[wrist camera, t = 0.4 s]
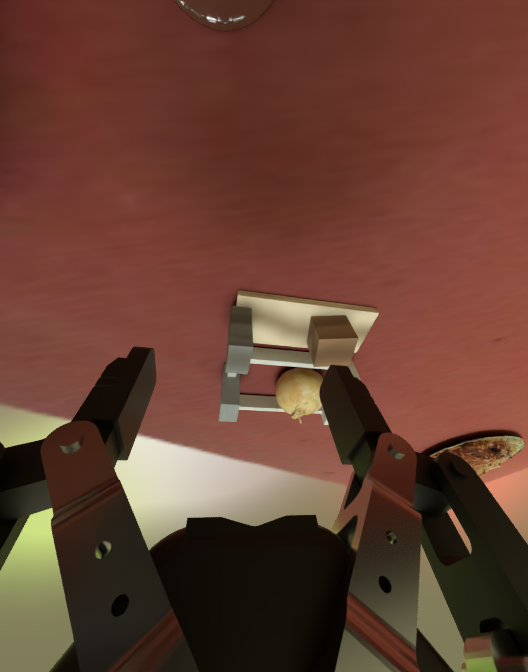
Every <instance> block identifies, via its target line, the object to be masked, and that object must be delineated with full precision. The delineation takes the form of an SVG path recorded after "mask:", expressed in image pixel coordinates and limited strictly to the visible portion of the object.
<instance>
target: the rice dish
mask: <svg viewBox="0 0 528 672" xmlns="http://www.w3.org/2000/svg"><path fill="white" fill-rule="evenodd" d="M505 441H506V442H505ZM524 443H525V441H524V440H523V439H521V438H520V437H515V436H501V437H499V436H496V437H483V438H477V439H472V440H466V441H464V442H460V443H458V444H456V445H454V446H451V447H449V448H448V447H445V448H443V449H441V450H440V451H438V452H435V453H433V454H432V455H429V456H430V457H433V458H436V457H437V456H438V455H439V454H440V453H442V452H450V453H453V454H455V455H457V456H459V457H461V458H462V459H464V460H465V461H466V462H467V463H468V464H469V465H470V466H471V467H472V468H473V469H474V470H475V471H476V473H477V474H478V476H479V477H481V476H484V474H486V472H488V471H489V470H492V469H493V468H498V467H501V465H500V463H502V462H505V460H506V459H511V458H512V457H511V456H514V455H515V454H517V453H518V452H520V451H521V449H522V448H523V447H524V445H525V444H524Z"/></svg>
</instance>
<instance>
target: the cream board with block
mask: <svg viewBox="0 0 528 672" xmlns="http://www.w3.org/2000/svg"><path fill="white" fill-rule="evenodd" d="M378 314H379V312H378V311H377V310H376V308H372V307H364V306H357V305H349V304H341V303H334V302H326V301H318V300H311V299H303V298H295V297H288V296H280V295H272V294H265V293H257V292H249V291H242V290H238V295H237V302H236V306H231V313H230V321H229V330H228V342H227V356H226V370H225V373H238V374H248V370H249V365H250V361H251V356H252V351H253V343H261V344H271V345H282V346H292V347H303V348H308V346H307V338H308V331H309V325H310V319H311V316H334V315H346V316H347V318H348V320H349V322H350V323H351V325H352V327H353V329H354V331H355V332H356V334H357V336H358V338H359V339H358V342H357V345H356V348H355V350H354V352H355V353H356V352H357V350H358V349H359V347H360V345H361V343H362V342H363V340H364V338H365V337H366V335H367V333H368V331H369V330H370V328H371V326H372V324H373V323H374V321H375V319H376V317H377V316H378Z"/></svg>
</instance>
